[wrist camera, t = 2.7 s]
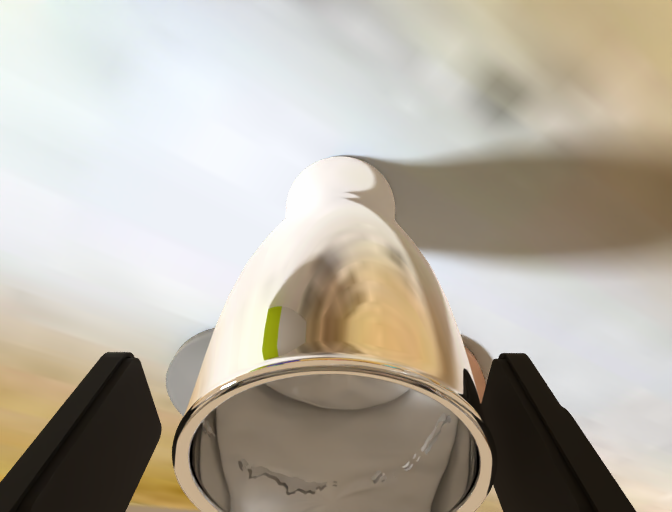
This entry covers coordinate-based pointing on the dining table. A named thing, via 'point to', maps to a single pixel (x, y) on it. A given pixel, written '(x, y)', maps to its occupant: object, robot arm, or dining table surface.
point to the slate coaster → (186, 369)
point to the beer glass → (336, 370)
